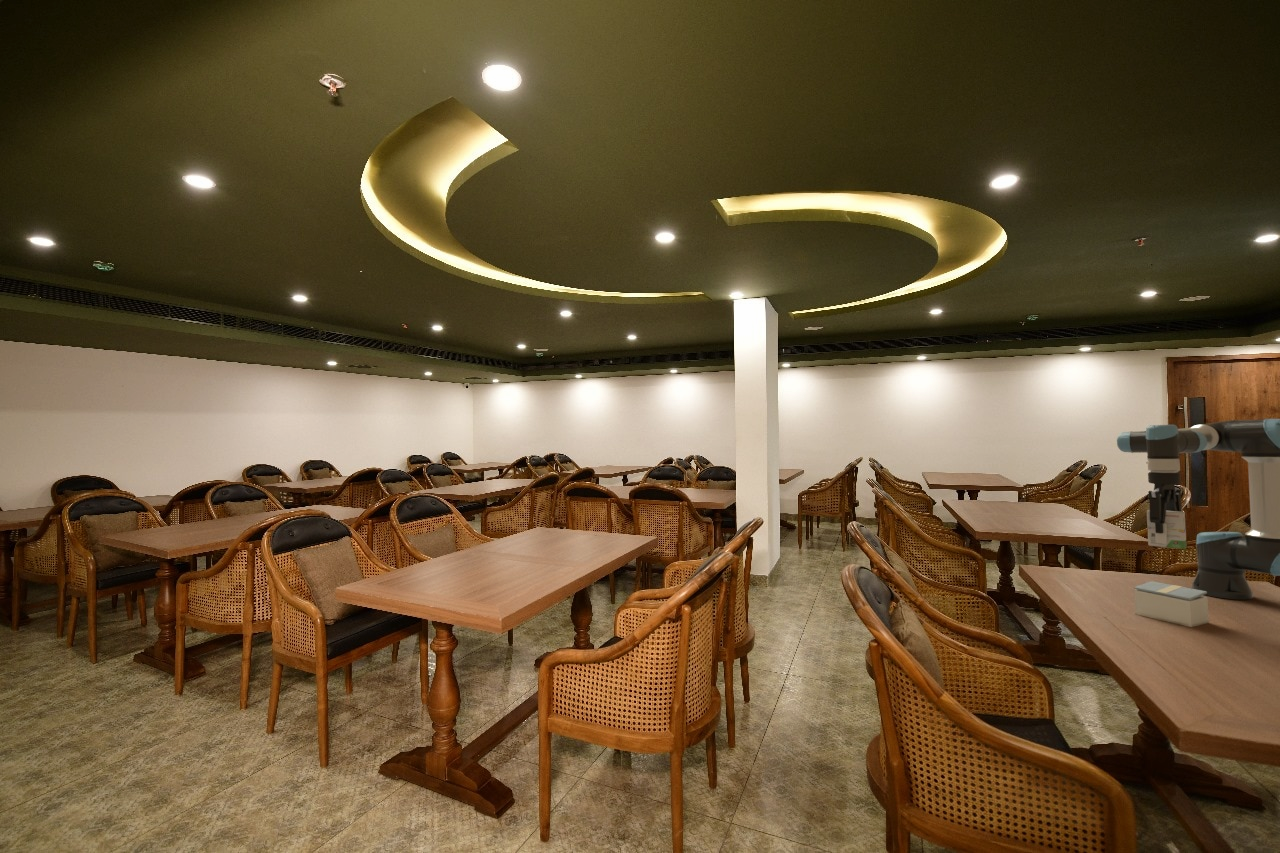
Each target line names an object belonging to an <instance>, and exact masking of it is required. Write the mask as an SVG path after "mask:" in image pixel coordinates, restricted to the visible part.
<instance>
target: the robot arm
mask: <svg viewBox="0 0 1280 853" xmlns="http://www.w3.org/2000/svg"><path fill="white" fill-rule="evenodd" d="M1116 445H1117V448H1118V449H1119V450H1120V451H1121V452H1123V453H1131V454H1133V453H1134V454H1135V453H1138V454H1139V453H1141V454H1142V453H1145V454H1147V461H1146V462H1145V463H1146V464H1147V470H1148V471H1149V472H1147V478H1148V479H1147V480H1148V483H1150V484H1154V486H1153V490H1149V491H1147V492H1148V496H1149V510H1150V522H1152V523H1155V543H1162V544H1167V524H1165V515H1166V511H1181V512H1183V511H1182V504H1181V503H1182V502H1181V501H1182V500H1181V492H1182V491H1181V489H1177V488H1176V486H1175V485H1179V484H1181V483H1182V481H1181V473H1180V471H1181V464H1180V462H1181V461H1180V454H1194V453H1200V452H1202V451H1218V452H1227V453H1228V452H1231V453H1240V457H1241V459H1243V460H1245V461H1246V462H1247V469H1248V491H1249V493H1248V494H1249V510H1250V511H1249V512H1250V529H1249V530H1248V531H1246V532H1245V533H1244V535H1243V534H1242V533H1241V532H1237V531H1204V532H1199V533H1198V534H1197V535H1196V543H1195V545H1196V557H1197V573H1196V574H1195V577H1194V579H1193V582H1192V585H1191V586H1192V588H1191V589H1196V590H1202V591H1207V594H1204V595H1203V596H1208V597H1213V598H1220V599H1226V600H1227V599H1228V600H1238V601H1239V600H1241V601H1245V600H1246V601H1247V600H1248V601H1249V600H1253V599H1254V595H1253V590H1252V588H1251V587H1250V585H1249V583H1248V580H1247V579H1246V576H1245V571H1248V572H1253V573H1260V574H1261V573H1262V574H1268V575H1272V576H1275V577H1278V576H1279V577H1280V418H1261V419H1258V418H1257V419H1237V420H1236V419H1234V420H1222V421H1217V422H1211V423H1210V422H1209V423H1204V424H1202V423H1201V424H1196V425H1195V424H1194V425H1193V426H1191V427H1186V428H1185V427H1184V428H1183V427H1182V428H1178V426H1177V425H1176V424H1153V425H1152V424H1150V425H1148V426H1147V427H1146V430H1144V431H1143V430H1142V431H1124V432H1121V433H1120V434H1119V435H1118V436H1117V438H1116Z"/></svg>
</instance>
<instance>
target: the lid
mask: <svg viewBox="0 0 1280 853" xmlns="http://www.w3.org/2000/svg"><path fill="white" fill-rule="evenodd" d="M1136 589H1137V590H1142V591H1147V592H1152V593H1156V594H1161V595H1166V596H1171V597H1176V598H1181V599H1186V600H1192V599H1194V598H1197V597H1199V596H1205V595H1204V594H1207V591H1202V590H1196V589H1192V588H1191V587H1190V588H1189V587H1185V586H1181V585H1175V584H1169V583H1163V582H1158V581H1153V580H1150V581H1147V582H1145V583H1142V584H1139V585H1135V586H1134V587H1133V590H1136Z"/></svg>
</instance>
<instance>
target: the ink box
mask: <svg viewBox="0 0 1280 853" xmlns="http://www.w3.org/2000/svg"><path fill="white" fill-rule="evenodd" d="M1181 511H1182V510H1181ZM1181 511H1166V515H1165V524H1167V544H1162V543H1155V523H1152V522H1150V509H1147V510H1146V521H1147V522H1146V523H1147V524H1146V525H1147V542H1148V543H1147V544H1148V546H1151V547H1157V548H1158V547H1161V548H1168V549H1178V550H1179V549H1180V550H1181V549H1182V550H1186V549H1187V546H1188V545H1187V532H1186V517H1185V516H1186V515H1185V514H1186V513H1185V511H1182V512H1181Z"/></svg>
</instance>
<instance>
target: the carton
mask: <svg viewBox="0 0 1280 853" xmlns="http://www.w3.org/2000/svg"><path fill="white" fill-rule="evenodd" d="M1133 591H1134V592H1133V593H1134V612H1135V614H1134V615H1137V616H1142V617H1146V618H1152V619H1155V620H1158V621H1164V622H1168V623H1172V624H1176V625H1180V626H1185V627H1190V628H1194V627H1199V626H1202V625H1205V624H1208V623H1209V622H1210V621H1209V604H1208V603H1209V602H1208V597H1207V596H1204V595H1202V596H1199V597H1197V598H1194V599H1192V600H1186V599H1181V598H1176V597H1171V596H1166V595H1161V594H1156V593H1152V592H1147V591H1142V590H1137V589H1133Z"/></svg>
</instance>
